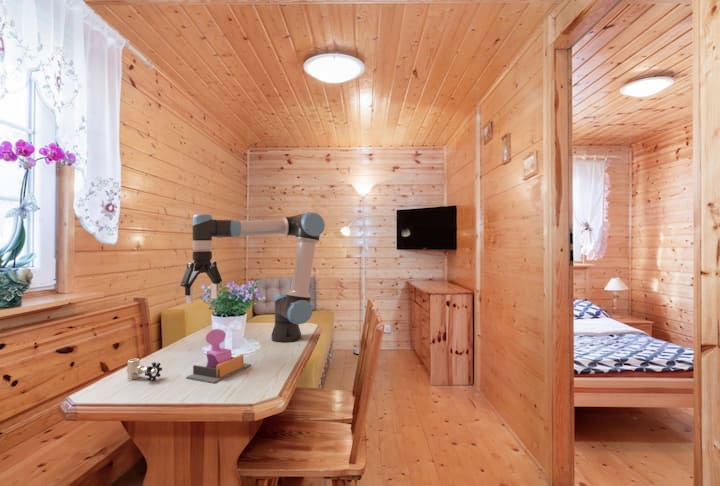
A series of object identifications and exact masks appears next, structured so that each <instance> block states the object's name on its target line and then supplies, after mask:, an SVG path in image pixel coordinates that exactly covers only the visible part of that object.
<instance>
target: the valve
mask: <svg viewBox="0 0 720 486" xmlns="http://www.w3.org/2000/svg"><path fill="white" fill-rule="evenodd" d="M140 362H141V361H140V358H130V359H128V361H127V368H126V373H127V380H130V381H131V380H136V379H139V377H140V376H141V375H142V374H144V376H146V377H147V378H146V380H147V382H148V381H152V382H155V381H156V380H157V378H159V377H161V373H160V372H162V370H163V367H160V366H161V363H160V362H156V361H154V362H153V361H152V362H151V366H149V365H148V366H147V367H145V366H144V365H141V364H140Z"/></svg>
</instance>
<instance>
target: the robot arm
mask: <svg viewBox="0 0 720 486" xmlns="http://www.w3.org/2000/svg"><path fill="white" fill-rule="evenodd" d="M325 226H326V224H325V221H324V218H323V217H322V216H321V215H320V214H319V213H318V212H317V213H316V212H306V213H301V214H300V213H299V214H297V215H291V216H283V217H282V218H281V219H280V218H277V219H275V218H274V219H252V220H249V219H248V220H237V219H214V218H213V216H212V215H211V214H206V213H205V214H204V213H197V214H194V215H193V216H192V227H191V228H192V250H193V251H192V261H193V262H187V264H186V270H185V272H184V275H183V277H182V279H181V282H180V286H181V287H182V288H184V295H185V303H186V304H191V305H192V304H194V301H193V299H194V298H193V297H194V295H193V293H194V292H193V291H194V287H192V286H193V284H194V282H195V281H196V279H197V278H198V276H199V275H200V274H203V273H205V274H206V275H207V276H208V278H209V279H210V281H211V282H212V283H210V284H211V287H210V289H211V291H210V293H211V294H210V295H211V297H210V298H211V299H213V300H217V299H218V291H219V285H220V284H221V282H222V281H223V280H222V277H221V273H220V272H219V271H220V270H219V269H218V265H217V264H218V263H217V261H211V260H212V259H213V252H212V250H213V242H212V241H213V237H214V238H216V239H222V238H238V237H250V236H251V237H252V236H270V235H284V236H285V237H287V236H289V237H290V236H293V237H294V236H295V240H296V241H297V244H296V245H297V247H296V253H295V259H294V266H293V273H292V280H291V286H290V287H291V288H290V291H288V292H287V293H285V294H283V293H282V294H276V295H275V297H274V326H273V329H272V332H271V340H272V342H277V343H290V342H296V341H299V340H301V339H302V332H301V328H300V326H299V325H302V324H305V323H307V322H308V321H309V320H310V319H311V317H312V314H313V307H312V304H311V298H312V296H311V295H310V293H309V289H310V283H311V276H312V271H313V263H314V255H315V249H316V244H318V243H319V242H320V237H321V235H322V234H323V233H324V231H325V228H326V227H325Z"/></svg>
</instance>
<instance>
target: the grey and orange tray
mask: <svg viewBox="0 0 720 486" xmlns="http://www.w3.org/2000/svg"><path fill="white" fill-rule="evenodd" d="M244 361H245V360H244V354H239V355H238V356H236V357H235V356H234V357H233V356H231V359H230V360H228V361H226V362H223V363H221V364H218V365H216V367H213V368H210V367H206V366H203V365H198V364H197V365H196V364H194V365H192V366H193V367H192V368H193V369H192V371H193V373H192V374H190V375H187V376H185V378H186V379H187V380H193V381H197V382H198V381H199V382H204V383H210V384H216V383H218V382H220V381H222V380H224V379H226V378H229V377H231V376H233V375H235V374H237V373H240V372H241V371H243V370H246V369H247V368H249V367H251V366H252V363H251V364H250V363H247V362H246V363H245V362H244Z"/></svg>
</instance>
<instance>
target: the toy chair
mask: <svg viewBox="0 0 720 486" xmlns="http://www.w3.org/2000/svg"><path fill="white" fill-rule="evenodd" d="M226 335H227V334H226V331H224V330H222V329H219V328H218V329H217V328H216V329H212V330H210V331H209V332H208V333H206V336H205V338H204V340H205V341H206V343H208V344H209V345H210V346H211V350H210V349H209V350H206V354H205V355H206V358H207V363H206V366H205V367H210V368H213V367H216V365H218V364H221V363H223V362H226V361H228V360H230V359H231V357H233V355H232V350H231V349H228V348H225V347H223V346H222V347H220V346H221V344H222V343H223V342H225V339H226Z"/></svg>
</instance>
